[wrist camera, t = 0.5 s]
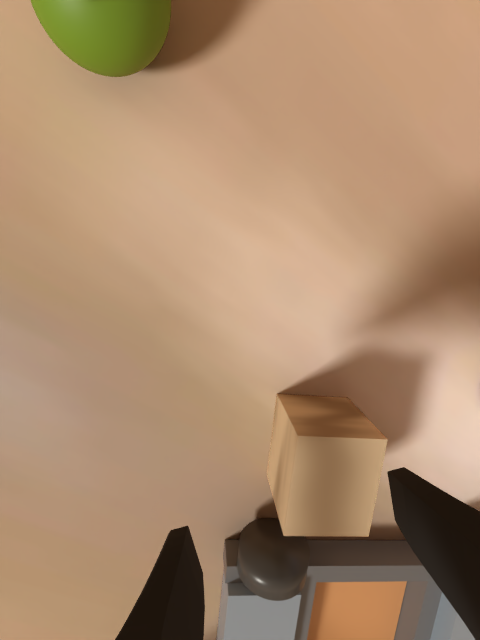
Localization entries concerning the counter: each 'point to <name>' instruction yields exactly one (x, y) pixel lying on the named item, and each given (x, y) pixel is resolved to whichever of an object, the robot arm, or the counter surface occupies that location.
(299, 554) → the car chassis
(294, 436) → the engine block
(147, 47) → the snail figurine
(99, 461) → the counter surface
